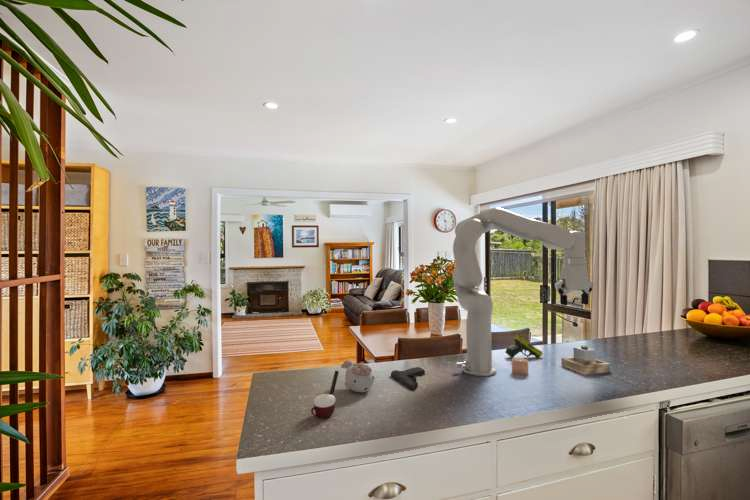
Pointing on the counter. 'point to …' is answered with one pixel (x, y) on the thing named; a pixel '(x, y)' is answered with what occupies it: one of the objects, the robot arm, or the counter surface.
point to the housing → (584, 355)
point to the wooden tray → (586, 366)
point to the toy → (358, 376)
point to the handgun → (408, 377)
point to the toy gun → (522, 348)
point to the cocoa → (325, 402)
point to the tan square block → (520, 366)
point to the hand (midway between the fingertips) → (574, 304)
